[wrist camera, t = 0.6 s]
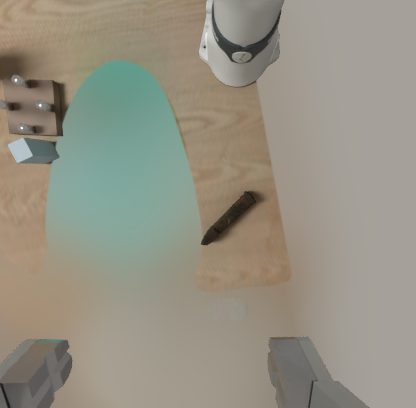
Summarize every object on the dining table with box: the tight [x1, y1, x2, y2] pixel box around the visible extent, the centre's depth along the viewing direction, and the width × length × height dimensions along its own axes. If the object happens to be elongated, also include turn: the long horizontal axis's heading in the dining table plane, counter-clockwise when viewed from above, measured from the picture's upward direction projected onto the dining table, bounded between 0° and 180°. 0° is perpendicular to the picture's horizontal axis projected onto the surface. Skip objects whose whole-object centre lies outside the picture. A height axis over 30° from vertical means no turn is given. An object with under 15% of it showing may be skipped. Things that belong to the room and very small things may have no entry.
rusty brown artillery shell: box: [201, 191, 256, 245], centre depth 53 cm, size 19×4×5 cm, turn 133°
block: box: [8, 138, 59, 164], centre depth 51 cm, size 4×4×8 cm
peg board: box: [0, 75, 63, 136], centre depth 51 cm, size 13×13×5 cm
